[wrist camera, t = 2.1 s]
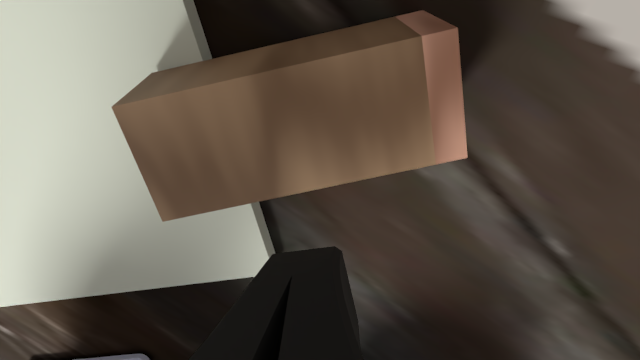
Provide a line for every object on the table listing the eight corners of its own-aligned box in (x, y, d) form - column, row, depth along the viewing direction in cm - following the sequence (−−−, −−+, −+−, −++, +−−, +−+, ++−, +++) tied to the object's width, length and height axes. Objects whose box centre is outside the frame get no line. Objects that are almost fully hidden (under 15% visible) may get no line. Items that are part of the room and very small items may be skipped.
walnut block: (188, 168, 18) (433, 115, 18) (162, 221, 15) (467, 157, 14) (151, 72, 17) (422, 10, 16) (111, 106, 13) (457, 27, 12)
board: (277, 260, 22) (274, 274, 21) (-66, 303, 25) (-81, 316, 24) (151, -130, 15) (137, -134, 14) (-306, 4, 18) (-339, 8, 17)
